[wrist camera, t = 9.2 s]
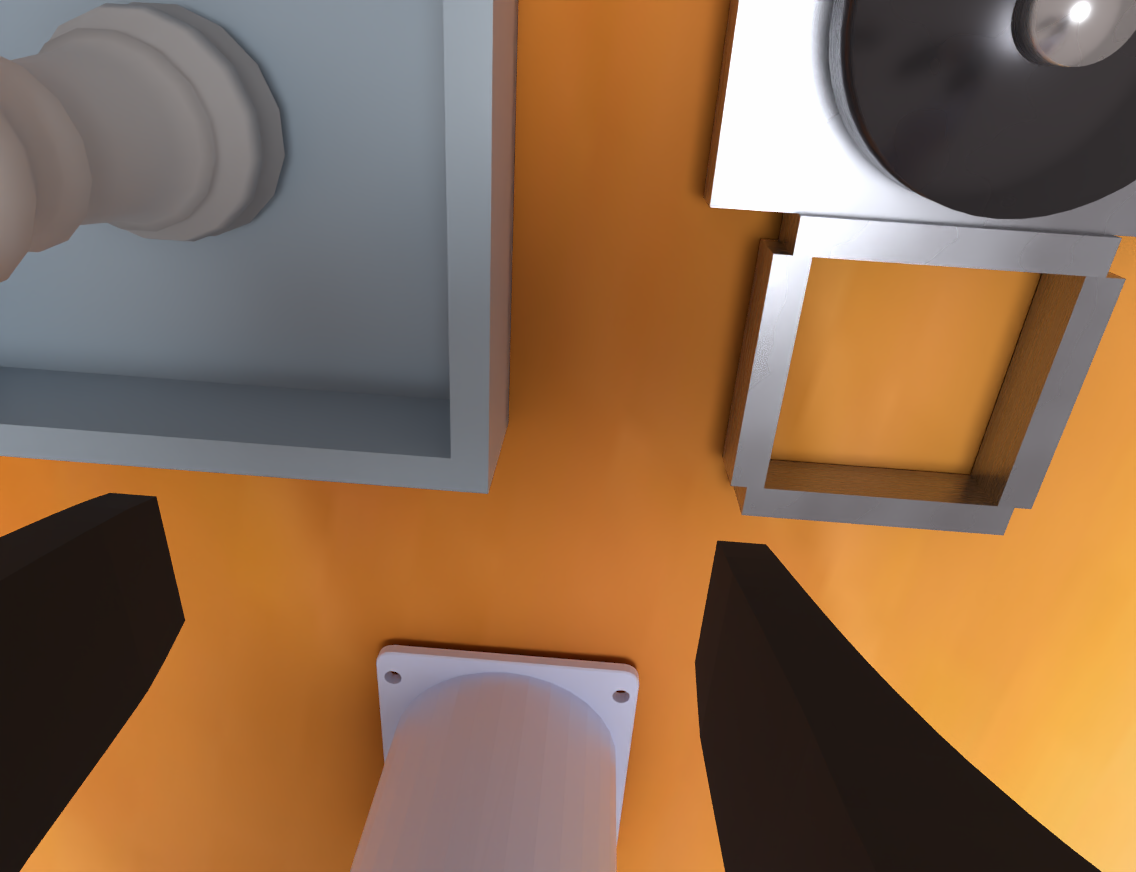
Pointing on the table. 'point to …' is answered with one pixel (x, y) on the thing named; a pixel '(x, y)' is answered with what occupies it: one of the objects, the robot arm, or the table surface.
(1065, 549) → the table surface
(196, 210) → the rook chess piece
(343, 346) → the tray
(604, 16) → the table surface
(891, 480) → the pulley bracket
